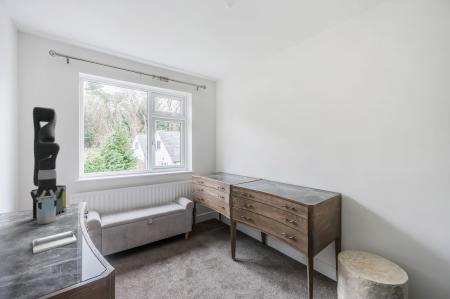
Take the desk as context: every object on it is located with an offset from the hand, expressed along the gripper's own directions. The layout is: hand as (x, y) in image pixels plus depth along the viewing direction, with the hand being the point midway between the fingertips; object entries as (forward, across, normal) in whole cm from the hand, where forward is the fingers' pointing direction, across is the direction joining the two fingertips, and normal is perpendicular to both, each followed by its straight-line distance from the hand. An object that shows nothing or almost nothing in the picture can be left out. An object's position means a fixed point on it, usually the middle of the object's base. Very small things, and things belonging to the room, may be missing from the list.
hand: (47, 207), depth 107 cm
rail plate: (+15, -2, +14) cm, 20 cm away
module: (+1, 0, 0) cm, 1 cm away
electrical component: (+16, -4, -44) cm, 47 cm away
